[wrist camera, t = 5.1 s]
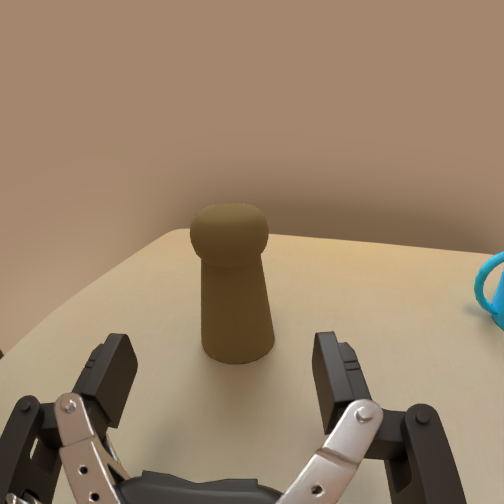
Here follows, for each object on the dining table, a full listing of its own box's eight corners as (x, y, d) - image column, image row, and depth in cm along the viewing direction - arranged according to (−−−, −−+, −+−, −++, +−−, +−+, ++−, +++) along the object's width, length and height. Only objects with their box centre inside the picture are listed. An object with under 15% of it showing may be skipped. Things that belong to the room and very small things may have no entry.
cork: (272, 365, 21) (272, 223, 16) (193, 360, 22) (167, 224, 17) (276, 316, 26) (275, 194, 22) (210, 314, 27) (195, 196, 22)
